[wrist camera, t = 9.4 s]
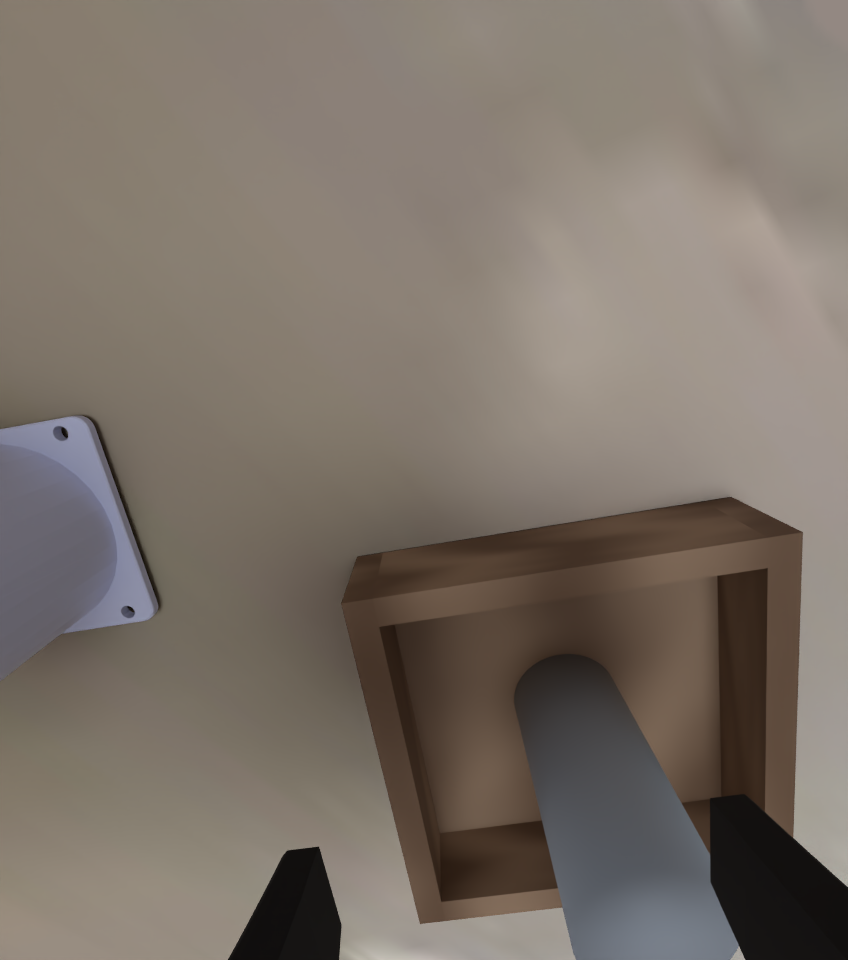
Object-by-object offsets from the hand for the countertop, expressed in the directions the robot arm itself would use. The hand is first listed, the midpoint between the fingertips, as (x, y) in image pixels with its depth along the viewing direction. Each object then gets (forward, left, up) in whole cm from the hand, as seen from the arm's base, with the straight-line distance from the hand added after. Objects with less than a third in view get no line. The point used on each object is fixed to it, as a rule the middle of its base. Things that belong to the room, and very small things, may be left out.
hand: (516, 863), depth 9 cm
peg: (+3, -5, -10) cm, 11 cm away
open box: (+3, -5, -10) cm, 12 cm away
